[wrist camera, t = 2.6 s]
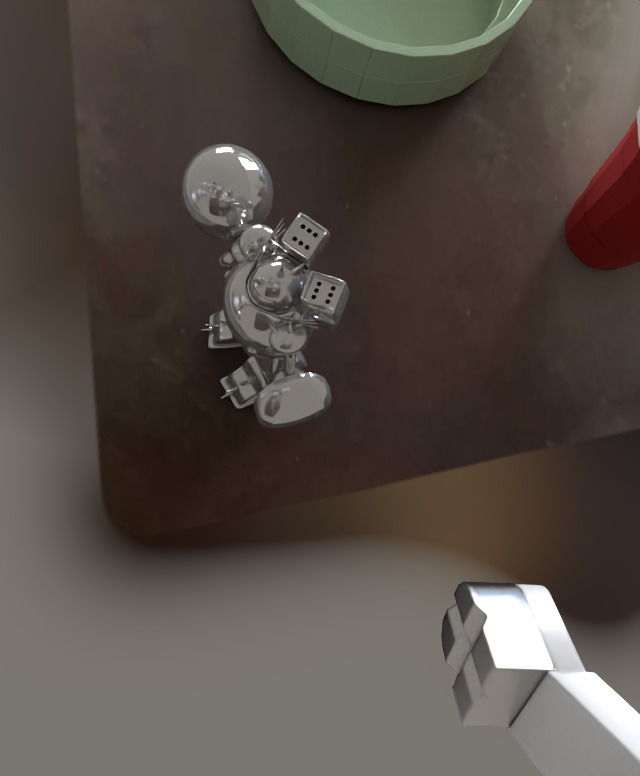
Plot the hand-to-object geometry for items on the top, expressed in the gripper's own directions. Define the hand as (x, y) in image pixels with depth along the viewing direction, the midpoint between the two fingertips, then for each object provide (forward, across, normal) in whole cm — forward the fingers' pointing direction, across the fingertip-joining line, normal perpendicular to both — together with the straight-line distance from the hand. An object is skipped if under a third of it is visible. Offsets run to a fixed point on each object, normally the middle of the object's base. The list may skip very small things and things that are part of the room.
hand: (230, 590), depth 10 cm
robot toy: (+27, 0, +10) cm, 29 cm away
